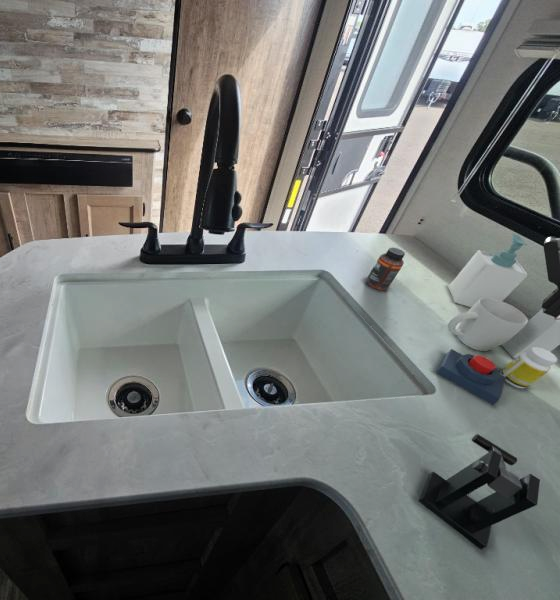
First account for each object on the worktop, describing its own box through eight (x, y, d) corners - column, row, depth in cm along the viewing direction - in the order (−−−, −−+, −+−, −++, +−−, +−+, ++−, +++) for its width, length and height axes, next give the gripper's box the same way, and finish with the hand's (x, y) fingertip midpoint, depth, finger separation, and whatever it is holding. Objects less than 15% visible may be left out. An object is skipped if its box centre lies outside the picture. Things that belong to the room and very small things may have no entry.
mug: (477, 330, 83) (508, 300, 76) (503, 357, 76) (539, 326, 69) (427, 324, 83) (453, 293, 76) (449, 351, 76) (479, 319, 70)
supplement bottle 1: (391, 287, 94) (414, 253, 87) (381, 293, 92) (403, 259, 84) (371, 276, 98) (391, 243, 91) (361, 282, 95) (381, 248, 88)
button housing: (444, 355, 75) (456, 343, 72) (498, 383, 69) (512, 371, 67) (435, 372, 70) (447, 360, 68) (492, 404, 65) (507, 393, 62)
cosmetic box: (524, 347, 79) (569, 310, 71) (539, 362, 76) (587, 324, 68) (499, 344, 79) (540, 307, 71) (512, 359, 76) (558, 321, 68)
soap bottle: (481, 295, 95) (535, 237, 83) (490, 313, 89) (550, 253, 77) (447, 286, 98) (494, 228, 85) (454, 302, 91) (506, 242, 79)
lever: (468, 440, 53) (479, 430, 52) (507, 465, 50) (519, 454, 49) (474, 477, 44) (487, 465, 43) (521, 509, 41) (537, 497, 40)
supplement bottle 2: (531, 391, 69) (567, 365, 63) (508, 386, 69) (541, 361, 64) (516, 373, 72) (548, 347, 67) (493, 369, 73) (524, 343, 67)
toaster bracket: (428, 474, 53) (480, 437, 45) (488, 517, 49) (556, 484, 41) (417, 501, 50) (472, 466, 42) (480, 549, 45) (553, 521, 38)
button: (470, 357, 70) (476, 352, 68) (490, 368, 68) (497, 363, 67) (466, 366, 68) (472, 360, 66) (487, 377, 66) (494, 372, 64)
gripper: (600, 183, 37) (489, 299, 49) (796, 229, 31) (615, 353, 42) (598, 172, 42) (497, 281, 53) (771, 211, 35) (612, 327, 46)
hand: (549, 313), depth 47 cm, fingers closed
